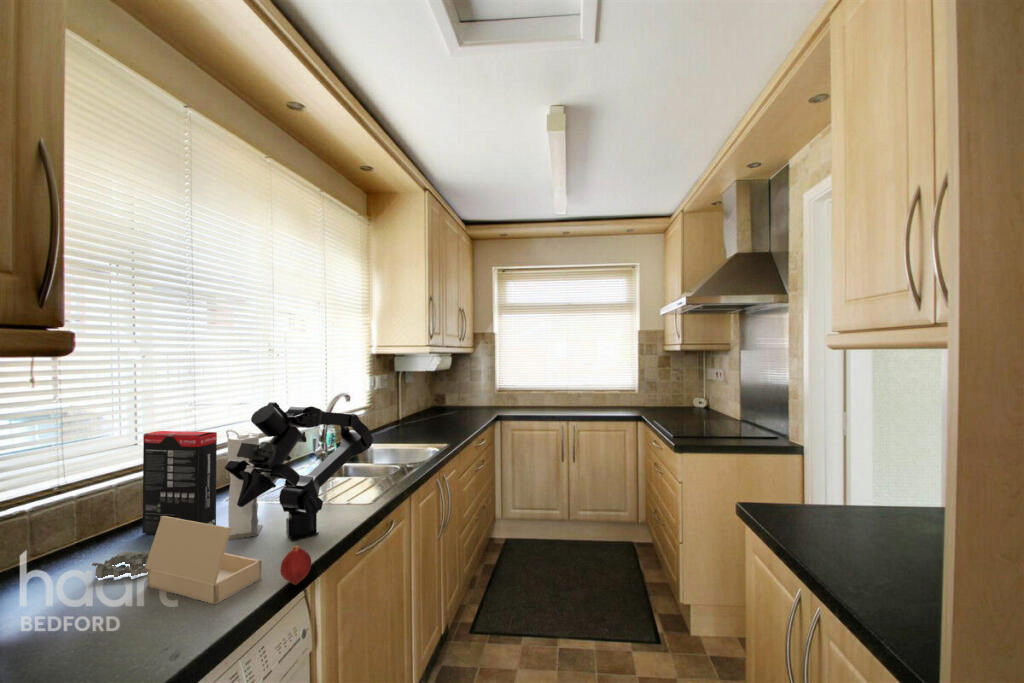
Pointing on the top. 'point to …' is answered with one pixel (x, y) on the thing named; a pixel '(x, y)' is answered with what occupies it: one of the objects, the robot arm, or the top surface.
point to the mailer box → (230, 581)
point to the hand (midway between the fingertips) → (239, 506)
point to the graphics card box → (179, 477)
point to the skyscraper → (244, 517)
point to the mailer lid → (188, 549)
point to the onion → (295, 565)
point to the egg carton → (129, 558)
